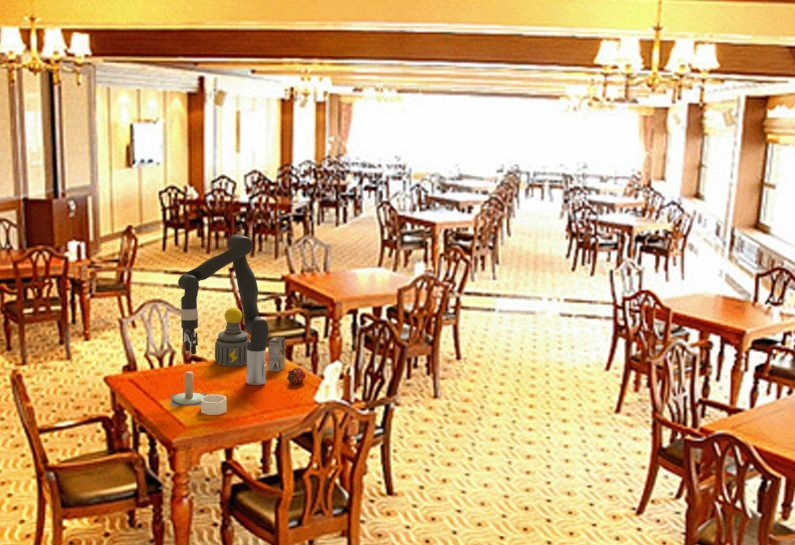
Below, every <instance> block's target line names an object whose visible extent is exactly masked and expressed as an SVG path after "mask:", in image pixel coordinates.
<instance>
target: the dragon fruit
mask: <svg viewBox="0 0 795 545" xmlns="http://www.w3.org/2000/svg"><path fill="white" fill-rule="evenodd" d="M306 377H307V376H306V374H305V371H304V370H303V369H301V367H297V368H295V367H294V368H293V369H292V370H289V371H288V375H287V378H286V379H287V380H288V382H290V383H292V384H293V385H297V384H303V383H304V382H303V381H304V380H305V378H306Z"/></svg>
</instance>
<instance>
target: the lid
mask: <svg viewBox="0 0 795 545" xmlns="http://www.w3.org/2000/svg"><path fill="white" fill-rule="evenodd" d="M177 394H178V395H176V396H174V397H173V401H174V402H175V403H177V404H182V405H193V404H198V403H201V397H203V396H204V395H202V394H203V393H199V392H194V372H193V371H185V372H184V392H182V393H177Z"/></svg>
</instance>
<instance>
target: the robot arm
mask: <svg viewBox="0 0 795 545" xmlns="http://www.w3.org/2000/svg"><path fill="white" fill-rule="evenodd" d="M227 248H228V249H227V250H226V251H223V252H221V253H220V254H217V255H215V256H213V257H210V258H208V259H207V260H205V261H204V262H202V263H200V265H198V266H196V267H195V268H193V269H191V270H188V271H187V272H185V273H184V274H183V273H182V275H180V277H179V278H178V282H177V285H178V286H179V288H180V289H181V290H184V294H183V296H182V297H181V299H180V308H181V310H180V324H181V326H180V328H181V329H182V342H184V351H185V352H190V354H191V355H192V356H193V355H197V346H199V344H198V343H199V341H198V340H199V339H198V338H199V337H198V332H195V330H196V329H198V328H199V313H198V294H199V289H200V281H205V280H207V279H209V278H210V277H211V276H213V275H215V274H216V273H217V272H219V271H220V270H222V269H223V268H224V267H226V266H229V265H230V264H231V263H232V264H233V268H234V273H235V279H236V283H237V289H238V293H239V297H240V298H239V299H240V303H241V307H242V315H243V322H244V323H243V324H244V328H245V332H246V333H247V334H250V342H249V343H248V344H247V364H246V378H245V379H246V380H245V381H246V382H245V383H246V384H247V385H251V386H260V385H266V377H267V374H266V373H267V364H266V362H267V361H266V359H267V358H266V357H267V356H266V354H267V345H268V341H269V325H268V321H266V320H265V319H264V318H261V317H260V315H259V312H258V307H257V304H258V302H257V301H258V295H259V288H258V281H257V278H256V276H255V273H254V272H253V270H252V267H251V266H250V265H249V263H248V260H247V255H248V254H250V253H251V252H252V250H253V240H252V239H251V238H250V237H248V236H244V235H240V234H233V235H231V236H230V237H229V239H228V241H227Z"/></svg>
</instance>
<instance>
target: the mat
mask: <svg viewBox="0 0 795 545" xmlns="http://www.w3.org/2000/svg"><path fill="white" fill-rule="evenodd" d="M178 394H179V393H176V394H175V393H174V394H171V398H170V407H186V406H187V407H189V406H190V407H191V406H193V407H195V406H201V403H198V404H193V405H182V404H177V403H175V402H174V401H173V397H174V396H176V395H178ZM201 394H202V395H204V396H206V395H208V393H201Z"/></svg>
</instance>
